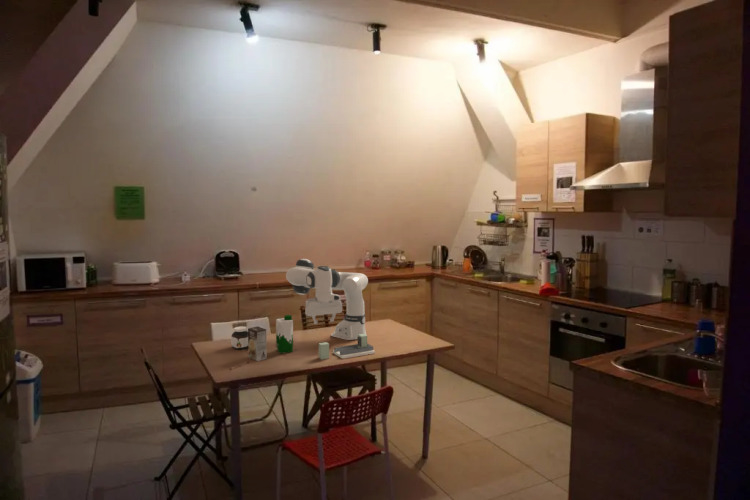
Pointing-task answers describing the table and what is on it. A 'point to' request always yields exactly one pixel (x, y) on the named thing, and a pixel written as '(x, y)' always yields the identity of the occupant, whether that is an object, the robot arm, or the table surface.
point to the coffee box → (257, 343)
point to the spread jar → (239, 338)
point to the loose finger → (324, 350)
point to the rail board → (355, 348)
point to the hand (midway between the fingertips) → (323, 322)
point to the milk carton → (284, 334)
